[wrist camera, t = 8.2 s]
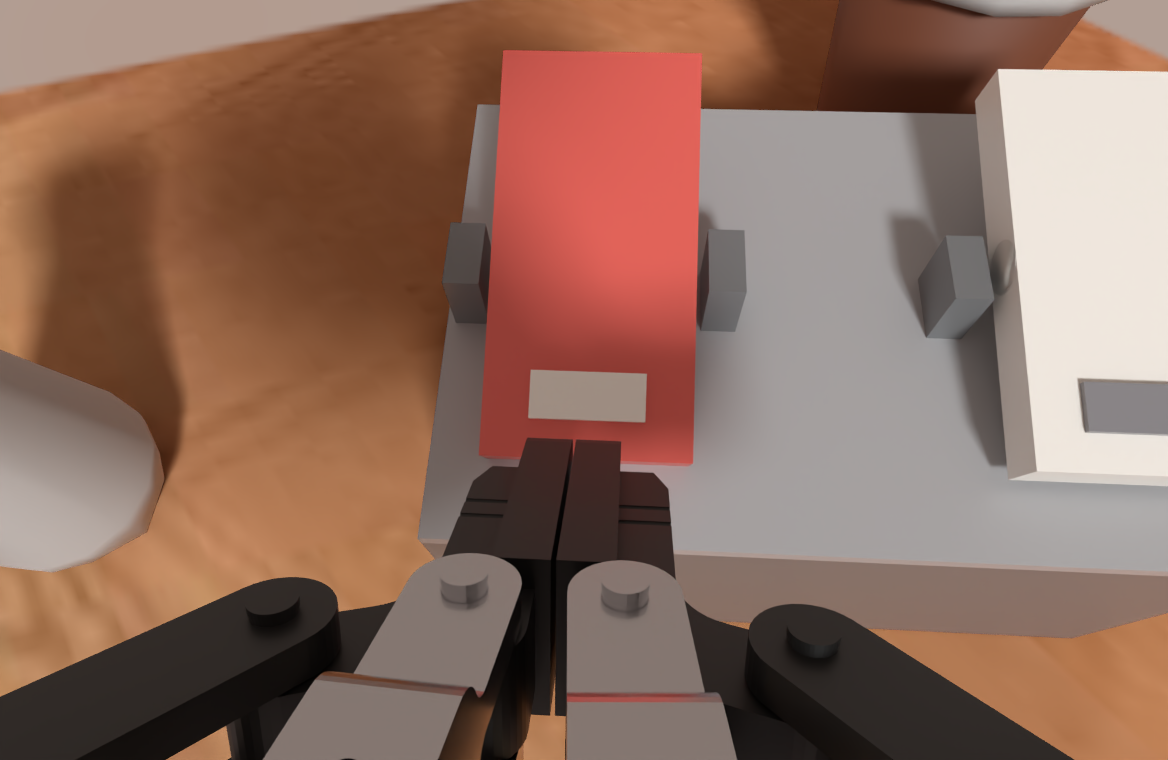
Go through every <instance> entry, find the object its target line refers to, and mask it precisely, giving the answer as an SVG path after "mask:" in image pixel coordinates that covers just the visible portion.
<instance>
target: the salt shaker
mask: <svg viewBox="0 0 1168 760" xmlns="http://www.w3.org/2000/svg"><path fill="white" fill-rule="evenodd" d="M164 480H165V478H164V473H163V468H162V463H161V458H160V453H159V450H158V448H157V445H156V443H155V441H154V439H153V437H152V434H151V432H150V430H149V428H148V426H147V423H146V421H145V420H144V419H143V417H142V416H141V415H140V413H139V412H137V411H136V410H134V409H133V408H132V407H130V406H129V405H127V404H126V403H125V402H123V401H122V400H120V399H119V398H118V397H116V396H115V395H114V394H112V393H111V392H108V391H106V390H103V389H101V388H98V387H95V386H93V385H90V384H88V383H85V382H82V381H80V380H77V379H75V378H72V377H69V376H67V375H64V374H62V373H59V372H57V371H54V370H51V369H49V368H46V367H44V366H41V365H38V364H36V363H33V362H31V361H28V360H25V359H23V358H20V357H18V356H15V355H12V354H10V353H7V352H5V351H2V350H0V566H3V567H11V568H20V569H28V570H37V571H46V572H56V571H60V570H63V569H67V568H71V567H75V566H79V565H83V564H87V563H91V562H94V561H96V560H97V559H99V558H101V557H103V556H105V555H106V554H108V553H110V552H112V551H114V550H115V549H117V548H119V547H121V546H123V545H124V544H126V543H128V542H130V541H132V540H133V539H135V538H137V537H139V536H141V535H142V534H144V533H146V532H147V530H148V527H149V524H150V521H151V518H152V515H153V512H154V509H155V506H156V503H157V501H158V498H159V495H160V492H161V489H162V486H163V483H164Z"/></svg>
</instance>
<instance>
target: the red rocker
mask: <svg viewBox="0 0 1168 760" xmlns="http://www.w3.org/2000/svg"><path fill="white" fill-rule="evenodd" d="M701 76H702V53H645V52H585V51H525V50H503V62H502V79H501V95H500V112H499V128H498V145H497V161H496V178H495V194H494V211H493V227H492V244H491V260H490V277H489V293H488V310H487V326H486V343H485V359H484V376H483V392H482V409H481V425H480V442H479V456H482V457H485V458H489V459H514V460H520V459H521V456H522V452H523V449H524V446H525V442H526V439H527V438H552V439H573V455H574V449H575V443H576V439H580V440H605V441H621V464H639V465H665V466H690V465H692V464H693V445H694V399H695V353H696V307H697V261H698V214H699V168H700V122H701Z"/></svg>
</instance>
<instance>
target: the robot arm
mask: <svg viewBox="0 0 1168 760" xmlns="http://www.w3.org/2000/svg"><path fill="white" fill-rule="evenodd" d="M620 464H621V441H605V440H580V439H576V443H575V449H574V455H573V439H552V438H527V439H526V442H525V446H524V449H523V452H522V456H521V459H520V462H519V466H518V467H505V466H492V467H490V468H489V469H488V470H486V471H485V472H484V473H483V474H481V475H480V476H479V477H477V478H476V479H475V480H473V482H472V485H471V487H470V490H469V492H468V495H467V497H466V502H464V504H463V507H462V509H461V512H460V516H459V517H458V519H457V522H456V524H455V527H454V529H453V531H452V534H451V536H450V539H449V541H448V544H447V546H446V549H445V551H444V554H443V556H442V557H441V558H438V559H435V560H433V561H431V562H429V563H427V564H425V565H423V566H422V567H420V568H419V569H418V570H416V571H415V572H414V573H413V574H412V576H411V577H410V578H409V580H408V582H407V583H406V585H405V587H404V588H403V590H402V592H401V594H400V595H399V597H398V599H397V600H396V601H394V602H391V603H388V604H384V605H379V606H373V607H367V608H360V609H354V610H347V611H341V612H339V611H338V602H337V597H336V595H335V593H334V592H333V590H332V589H331V588H330V587H328V586H327V585H325V584H323V583H322V582H319V581H316V580H312V579H308V578H299V577H286V578H277V579H271V580H266V581H262V582H259V583H256V584H253V585H250V586H248V587H245V588H243V589H240V590H238V591H236V592H234V593H232V594H229V595H227V596H225V597H223V598H220V599H218V600H216V601H214V602H211V603H209V604H207V605H205V606H202V607H200V608H198V609H196V610H193V611H191V612H189V613H187V614H185V615H182V616H180V617H178V618H176V619H173V620H171V621H169V622H167V623H164V624H162V625H160V626H158V627H155V628H153V629H151V630H149V631H147V632H144V633H142V634H140V635H138V636H135V637H133V638H131V639H129V640H126V641H124V642H122V643H120V644H117V645H115V646H113V647H111V648H108V649H106V650H104V651H102V652H100V653H97V654H95V655H93V656H91V657H88V658H86V659H84V660H82V661H79V662H77V663H75V664H73V665H70V666H68V667H66V668H64V669H62V670H59V671H57V672H55V673H53V674H50V675H48V676H46V677H44V678H41V679H39V680H37V681H35V682H32V683H30V684H28V685H26V686H23V687H21V688H19V689H17V690H15V691H12V692H10V693H8V694H6V695H3V696H1V697H0V760H166V759H168V758H169V757H171V756H173V755H175V754H176V753H178V752H180V751H182V750H184V749H185V748H187V747H189V746H191V745H192V744H194V743H196V742H198V741H200V740H201V739H203V738H205V737H207V736H208V735H210V734H212V733H214V732H216V731H217V730H219V729H221V728H223V727H224V726H226V727H227V733H228V739H229V745H230V751H231V758H230V759H228V760H524V758H523V743H524V741H525V740H526V737H527V733H528V729H529V723H530V716H531V714H532V715H550V711H551V704H552V697H553V689H554V682H555V716H566V739H565V760H1074V759H1072V758H1071V757H1069V756H1067V755H1066V754H1064V753H1063V752H1061V751H1060V750H1058V749H1056V748H1055V747H1053V746H1052V745H1050V744H1048V743H1047V742H1045V741H1044V740H1042V739H1041V738H1039V737H1037V736H1036V735H1034V734H1033V733H1031V732H1029V731H1028V730H1026V729H1025V728H1023V727H1022V726H1020V725H1018V724H1017V723H1015V722H1014V721H1012V720H1010V719H1009V718H1007V717H1006V716H1004V715H1002V714H1001V713H999V712H998V711H996V710H995V709H993V708H991V707H990V706H988V705H987V704H985V703H983V702H982V701H980V700H979V699H977V698H976V697H974V696H972V695H971V694H969V693H968V692H966V691H964V690H963V689H961V688H960V687H958V686H957V685H955V684H953V683H952V682H950V681H949V680H947V679H945V678H944V677H942V676H941V675H939V674H938V673H936V672H934V671H933V670H931V669H930V668H928V667H926V666H925V665H923V664H922V663H920V662H919V661H917V660H915V659H914V658H912V657H911V656H909V655H907V654H906V653H904V652H903V651H901V650H900V649H898V648H896V647H895V646H893V645H892V644H890V643H888V642H887V641H885V640H884V639H882V638H880V637H879V636H877V635H876V634H874V633H873V632H871V631H869V630H868V629H866V628H865V627H863V626H861V625H860V624H858V623H857V622H855V621H854V620H852V619H850V618H848V617H846V616H845V615H843V614H840V613H838V612H836V611H833V610H830V609H827V608H823V607H819V606H814V605H807V604H785V605H779V606H774V607H771V608H769V609H766V610H764V611H763V612H761V613H759V614H758V615H757V616H756V617H755V618H754V619H753V621H752V622H751V624H750V627H749V630H748V629H744V628H740V627H736V626H733V625H729V624H726V623H722V622H719V621H716V620H714V619H712V618H709V617H707V616H705V615H704V614H702V613H700V612H698V611H697V610H696V609H694V608H693V607H691V606H690V605H689V604H688V603H687V602H686V601H685V600H684V596H683V592H682V589H681V586H680V585H679V584H678V582H677V581H676V575H675V563H674V551H673V539H672V526H671V514H670V502H669V490H668V488H667V487H666V486H665V485H664V483H663V482H662V481H661V480H660V479H659V478H658V477H657V476H656V475H655V474H654V473H650V472H626V471H620Z"/></svg>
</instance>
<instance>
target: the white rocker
mask: <svg viewBox="0 0 1168 760" xmlns="http://www.w3.org/2000/svg"><path fill="white" fill-rule="evenodd" d="M975 107H976V118H977V130H978V141H979V153H980V164H981V176H982V187H983V198H984V210H985V221H986V233H987V244H988V255H989V267H990V277H991V283H992V288H993V293H994V299H995V300H994V301H993V312H994V324H995V335H996V347H997V358H998V369H999V381H1000V392H1001V404H1002V415H1003V427H1004V438H1005V449H1006V461H1007V472H1008V480H1022V481H1047V482H1072V483H1097V484H1122V485H1147V486H1168V72H1143V71H1085V70H1027V69H998V70H997V71H996V72H995V74H994V75H993V77H992V78H991V79H990V81H989V82H988V83H987V85H986V86H985V88H984V89H983V90H982V92H981V93H980V94H979V96H978V97H977V99H976V100H975Z"/></svg>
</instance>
